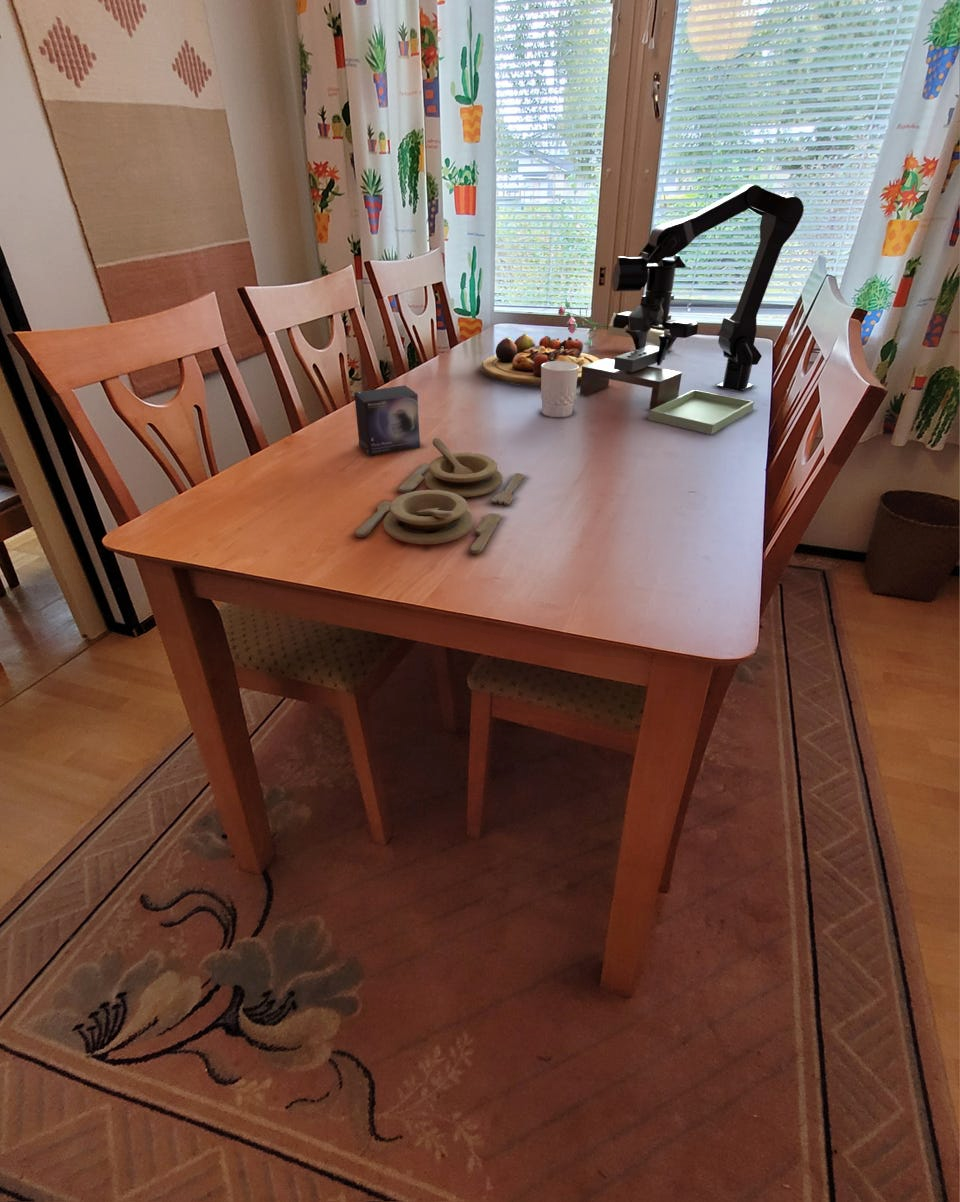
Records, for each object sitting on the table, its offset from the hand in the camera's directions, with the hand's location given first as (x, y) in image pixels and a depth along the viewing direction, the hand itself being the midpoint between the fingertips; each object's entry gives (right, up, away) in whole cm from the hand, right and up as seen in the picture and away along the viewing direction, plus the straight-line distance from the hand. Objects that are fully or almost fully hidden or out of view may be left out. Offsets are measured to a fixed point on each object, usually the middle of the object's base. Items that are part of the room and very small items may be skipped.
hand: (649, 363), depth 152 cm
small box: (-57, -26, -27) cm, 68 cm away
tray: (+8, -16, -12) cm, 21 cm away
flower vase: (0, +19, +40) cm, 45 cm away
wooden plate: (-23, +4, +18) cm, 30 cm away
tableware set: (-45, -40, -48) cm, 77 cm away
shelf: (-5, -9, -2) cm, 10 cm away
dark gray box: (-3, -1, -3) cm, 5 cm away
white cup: (-23, -15, -10) cm, 29 cm away
